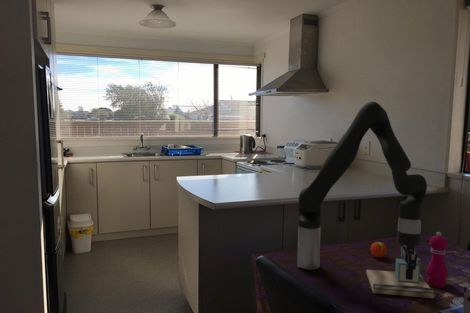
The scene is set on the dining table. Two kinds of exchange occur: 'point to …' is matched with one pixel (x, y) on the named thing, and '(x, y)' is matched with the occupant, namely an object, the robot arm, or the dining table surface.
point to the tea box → (401, 272)
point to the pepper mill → (437, 262)
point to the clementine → (378, 249)
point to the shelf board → (397, 285)
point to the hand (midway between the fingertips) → (407, 275)
